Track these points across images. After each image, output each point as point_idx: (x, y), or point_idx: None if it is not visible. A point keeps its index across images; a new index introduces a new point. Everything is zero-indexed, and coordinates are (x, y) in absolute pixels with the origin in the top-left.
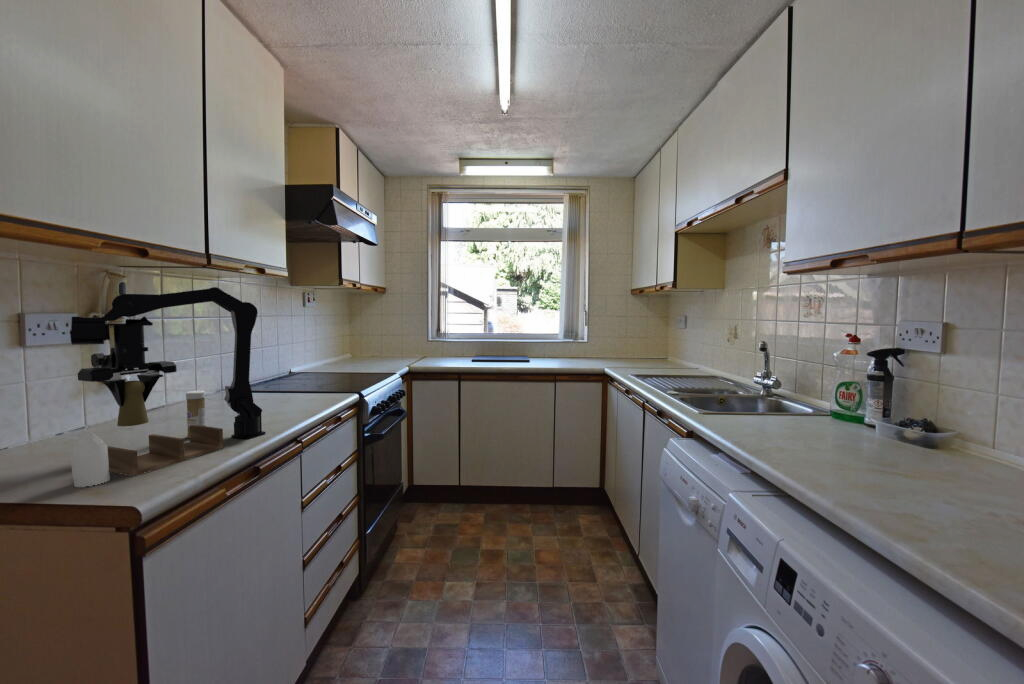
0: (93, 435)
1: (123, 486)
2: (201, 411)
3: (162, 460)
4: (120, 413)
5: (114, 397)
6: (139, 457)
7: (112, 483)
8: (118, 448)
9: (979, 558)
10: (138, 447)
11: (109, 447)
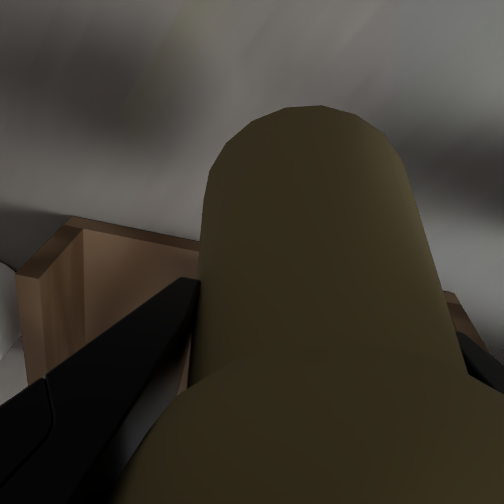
0: None
1: (20, 391)
2: None
3: (186, 373)
4: (201, 242)
5: (100, 343)
6: (192, 277)
7: (18, 352)
8: (39, 365)
9: None
10: (404, 53)
11: (30, 322)
